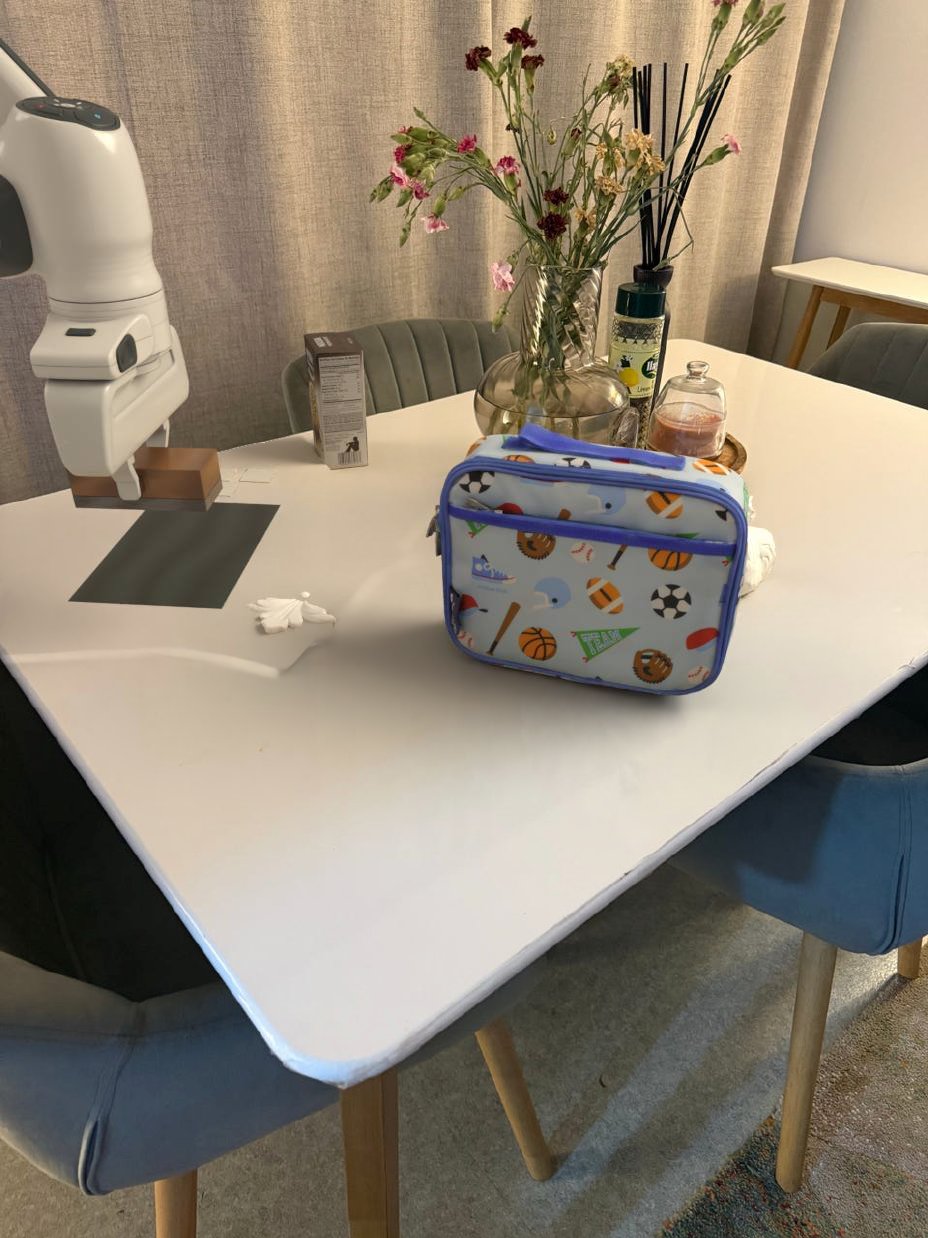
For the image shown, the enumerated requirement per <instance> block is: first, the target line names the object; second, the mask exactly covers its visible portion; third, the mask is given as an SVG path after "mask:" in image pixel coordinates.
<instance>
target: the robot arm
mask: <svg viewBox="0 0 928 1238" xmlns="http://www.w3.org/2000/svg"><path fill="white" fill-rule="evenodd" d="M153 227H154V226H153V222H152V215H151V209H150V204H149V198H148V193H147V189H146V184H145V179H144V175H143V172H142V168H141V164H140V161H139V157H138V154H137V151H136V148H135V145H134V143H133V140H132V138H131V135H130V132H129V131H128V129H127V127H126V125H125V123H124V122H123V120H122V118H121V117H120V116H119V115H118V114H117V113H115V112H113V111H112V110H111V109H110V108H108V107H106V106H104V105H102V104H99V103H96V102H92V101H89V100H85V99H80V98H74V97H73V98H69V97H68V98H67V97H62V96H58V95H56V94H55V93H54V92H53V91H52V90H51V89H50V87H49V86H48V85H47V84H46V83H45V82H43V80H42V79H41V78H40V77H39V76H38V75H37V74H36V73H35V72H34V71H33V70H32V69H31V67H29V66H28V64H27V63H26V62H25V61H24V60H23V59H22V58H21V57H20V56H19V55H18V53H16V52H15V51H14V50H13V48H11V47H10V46H9V45H8V43H6V41H5V40H4V39H3V38H2V37H0V280H14V279H19V278H22V277H23V278H24V277H27V276H31V275H38V276H40V278H42V279H43V280H44V283H45V284H46V285H45V286H46V295H47V299H48V303H49V307H50V312H49V313H48V314H47V316H46V319H45V323H44V325H43V328H42V331H41V332H40V334H39V336H38V338H37V339H36V341H35V343H34V344H33V345H32V348H31V350H30V353H29V360H30V361H29V362H30V365H31V368H32V369H31V370H32V372H33V374H34V376H35V377H36V378H37V379H47V380H46V381H45V385H44V389H43V390H44V392H43V394H44V398H43V399H44V404H45V410H46V414H47V417H48V421H49V425H50V428H51V433H52V436H53V439H54V442H55V446H56V449H57V453H58V456H59V458H60V461H61V463H62V465H63V466H64V468H65V467H66V468H67V469H68V470H69V471H70V472H71V473H72V474H73V475H76V476H88V477H109V476H111V477H112V478H113V479H114V481H115V482H116V484H117V488H118V492H119V496H120V497H121V499H123V500H138V499H139V498H140V497H141V495H142V494H143V493H144V491H145V487H144V482H143V478H142V475H137V473H136V471H135V469H134V467H133V465H132V464H133V463H134V462H135V459H134V453H135V452H136V451H137V449H138V448H139V447H140V446H141V447H142V446H143V445H144V443H145V447H169V437H170V425H171V424H170V421H169V418H170V417H171V416H172V414H174V413H175V412H176V410H178V409H179V408H180V407H181V405H182V404H183V403H184V402H185V401H186V400H187V399H188V397H189V393H190V392H189V391H190V380H189V375H188V371H187V366H186V361H185V357H184V353H183V349H182V344H181V340H180V337H179V334H178V333H177V330H176V328H175V327H174V326H173V325H172V324H170V318H169V313H168V306H167V302H166V295H165V290H164V283H163V281H162V278H161V274H160V273H159V271H158V270H157V266H156V263H155V260H154V257H153V235H154V228H153ZM66 468H65V469H66Z"/></svg>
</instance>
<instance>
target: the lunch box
mask: <svg viewBox="0 0 928 1238" xmlns="http://www.w3.org/2000/svg"><path fill="white" fill-rule="evenodd" d="M749 496H750V494H749V491H748V487H747V484H746V482H745V480H744V479H743V478H742V476H741V475H739V473H738V472H736V471H735V470H734V469H732V468H730V467H729V466H726V465H723V464H721V463H718V462H715V461H711V460H708V459H702V458H698V457H694V456H689V455H688V456H687V455H681V454H676V453H669V452H664V451H663V452H662V451H656V450H655V451H654V450H646V449H640V448H633V447H632V448H631V447H624V446H615V445H607V444H599V443H592V442H587V441H583V440H578V439H575V438H572V437H568V436H566V435H562V434H560V433H557V432H555V431H551V430H549V429H547V428H545V427H543V426H541V425H540V424H537V423H536V422H535V423H534V422H529V421H528V422H525V423H524V424H523V425H522V427H521V428H520V430H519V432H518V434H507V433H505V434H503V433H502V434H501V433H500V434H489V435H485V436H483V437H480V438H478V439H477V440H475V441H474V442H473V443H472V444H471V445H470V447H469V448H468V450H467V452H466V454H465V458H464V459H463V461H461V462H460V463H458V464H456V465H455V466H453V468H452V467H451V469H450V471H448V473H447V475H446V478H445V480H444V482H443V485H442V488H441V491H440V496H439V504H435V506H434V507H435V508H434V509H435V513H434V514H435V515H433V516H432V517H431V520H430V522H429V525H428V528H427V530H426V533H425V538H426V539H427V538H429V537H432V536H433V535H434V533H435V537H434V538H435V539H434V543H435V544H434V545H435V557H440V559H441V560H440V561H441V580H442V581H441V582H442V599H443V600H442V601H443V615H444V624H445V628H446V631H447V634H448V636H449V638H450V640H451V642H452V643H453V644H454V645H455V646H456V647H457V648H458V649H459V651H462V652H463V653H464V654H465V655H467V656H469V657H471V658H473V659H476V660H478V661H481V662H484V663H486V664H489V665H491V666H495V667H503V668H510V669H514V670H521V671H524V672H531V673H535V674H540V675H545V676H549V677H554V678H559V679H562V680H567V681H570V682H577V683H582V684H591V685H598V686H602V687H603V686H604V687H610V688H615V689H624V690H629V691H637V692H644V693H651V694H653V695H665V696H686V695H690V694H695V693H697V692H700V691H703V690H705V689H707V688H709V687H710V686H712V685H713V684H714V683H715V682H716V681H717V679H718V677H719V676H720V674H721V672H722V670H723V666H724V664H725V660H726V656H727V653H728V649H729V647H730V643H731V640H732V637H733V633H734V630H735V626H736V622H737V618H738V617H737V616H738V612H739V611H738V610H739V605H740V601H741V596H742V595H741V591H742V586H743V581H744V577H745V571H746V564H747V552H748V541H747V540H748V526H749V525H748V524H747V519H748V517H747V515H748V508H749Z"/></svg>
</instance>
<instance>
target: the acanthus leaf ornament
mask: <svg viewBox="0 0 928 1238" xmlns="http://www.w3.org/2000/svg"><path fill="white" fill-rule="evenodd" d="M298 596H299V597H301V598H308V597H309V596H310V592H308V591H302V592H300V593H299V595H298ZM246 607H247V608H249V610H252V611H254V612H258V613H259V615H258V618H259V620H260V625H261V626H262V627H263V629H264V631H265V633H267V634H269V635H273V634H276V633H280V632H284V631H286V630H287V629H288V628H289V627H290V628H293V629H296V628H299V627H300V626H301V625H302V624H303V622H304V620H306V621H308V622H309V623H310V622H311V623H314V624H324V623H331V622H332V628H336V623H337V619H336V617H335V616H334V615H332V614H330V613H327V610H326V609H325V608H322V607H320V606H317V605H314V604H310V603H309V602H308V601H307V600H299V599H297V598H276V597H265V598H264V599H257V600H256V601H255V603H247V604H246Z"/></svg>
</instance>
